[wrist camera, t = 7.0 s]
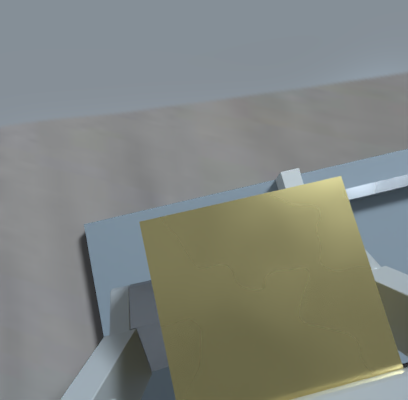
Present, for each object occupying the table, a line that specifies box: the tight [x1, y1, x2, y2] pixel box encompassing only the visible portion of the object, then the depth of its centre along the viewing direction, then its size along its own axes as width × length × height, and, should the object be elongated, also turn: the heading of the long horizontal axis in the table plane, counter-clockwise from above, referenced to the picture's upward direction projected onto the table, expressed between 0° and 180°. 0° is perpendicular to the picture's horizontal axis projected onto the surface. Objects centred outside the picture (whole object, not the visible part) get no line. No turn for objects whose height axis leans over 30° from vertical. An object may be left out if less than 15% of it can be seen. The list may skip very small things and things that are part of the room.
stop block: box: [139, 176, 403, 400], centre depth 11 cm, size 4×4×8 cm
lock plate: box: [84, 149, 408, 400], centre depth 21 cm, size 22×11×2 cm, turn 104°
